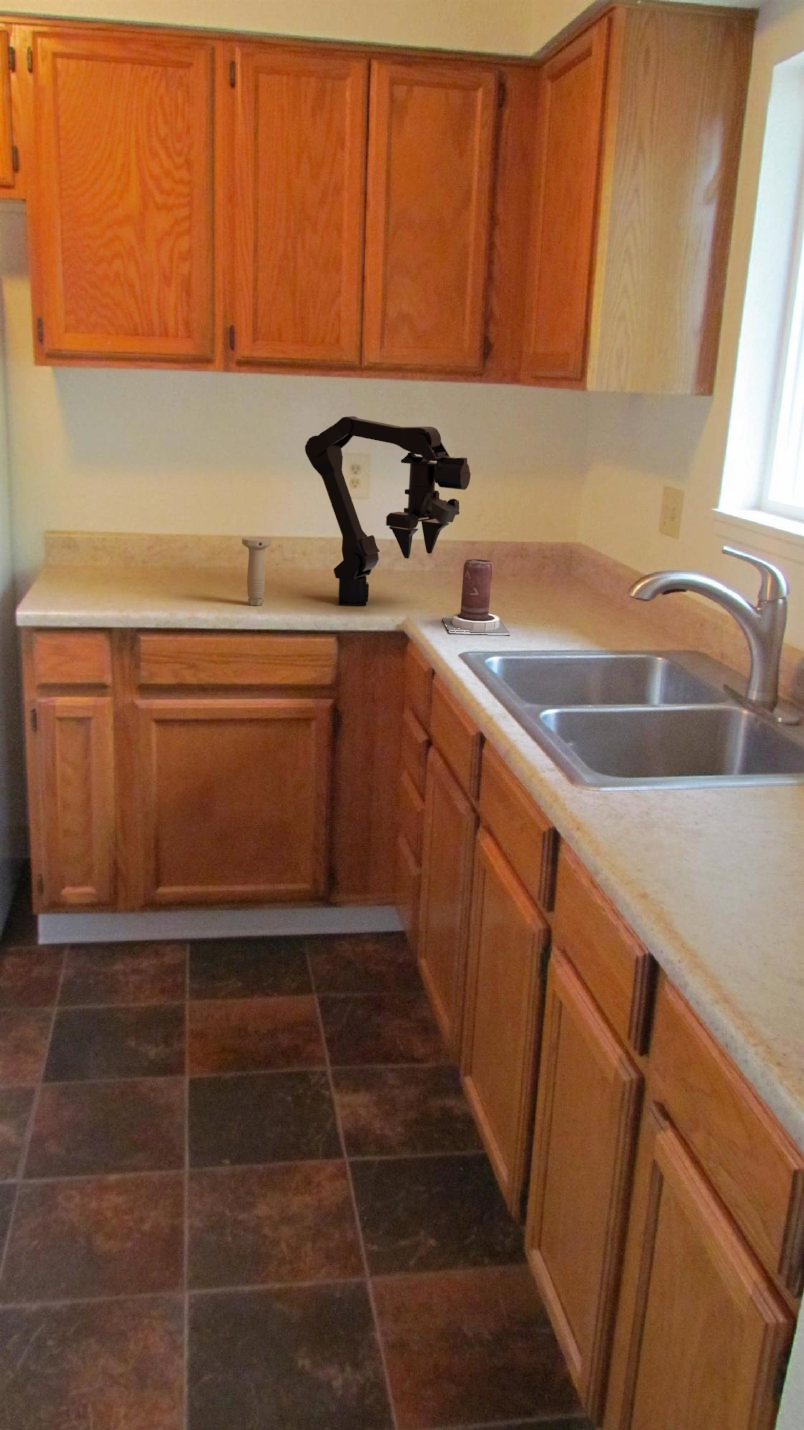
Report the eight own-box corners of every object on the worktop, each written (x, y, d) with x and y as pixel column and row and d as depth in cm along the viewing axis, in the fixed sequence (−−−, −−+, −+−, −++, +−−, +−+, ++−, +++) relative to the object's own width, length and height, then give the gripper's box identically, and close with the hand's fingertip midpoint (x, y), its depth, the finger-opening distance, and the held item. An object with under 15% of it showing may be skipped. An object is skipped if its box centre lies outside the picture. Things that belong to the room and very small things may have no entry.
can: (487, 629, 260) (492, 564, 255) (458, 626, 260) (462, 562, 256) (489, 622, 265) (494, 559, 261) (461, 620, 266) (465, 557, 262)
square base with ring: (449, 634, 256) (449, 623, 255) (442, 619, 268) (442, 609, 268) (509, 635, 257) (510, 624, 257) (499, 621, 270) (500, 611, 269)
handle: (272, 606, 273) (274, 540, 268) (245, 607, 270) (246, 541, 265) (265, 601, 277) (266, 536, 272) (238, 603, 274) (239, 537, 269)
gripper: (429, 492, 254) (425, 566, 258) (475, 486, 269) (470, 556, 273) (386, 486, 260) (382, 558, 264) (433, 481, 274) (429, 549, 279)
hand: (418, 555), depth 270 cm, fingers open, 9 cm apart
